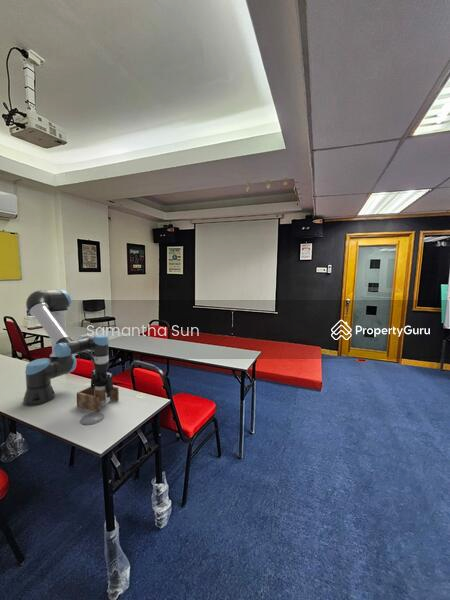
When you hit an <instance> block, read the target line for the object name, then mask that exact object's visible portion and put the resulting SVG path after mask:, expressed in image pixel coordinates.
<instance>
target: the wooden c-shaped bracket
mask: <svg viewBox="0 0 450 600" xmlns="http://www.w3.org/2000/svg"><path fill="white" fill-rule="evenodd" d="M110 393H111V396H110V401H115V402H118V401H119V400H120V398H119V393H120V392H119V387H118V386H115V385H113V390H112V391H111V392H110ZM76 407H78V408H81V409H85V410H88V411H92V412H100V409H101V407H100V403H99V397H96V396H94V389H93V387H91V385H90V386H89V387H86V388H84V389H82V390H80V391H78V392H76ZM100 413H101V412H100Z"/></svg>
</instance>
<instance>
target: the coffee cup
mask: <svg viewBox="0 0 450 600" xmlns="http://www.w3.org/2000/svg"><path fill="white" fill-rule="evenodd" d="M104 379H105V378H104ZM105 383H106V384H108V382H107V380H106V381H102V379H100V380H99V381H96V380H95V381H94V386H95V396H96V397H99V403H100V408H102V407H105V406H107V405H108V403H109V402H108V403H105V392H106V389H105V386H106V384H105Z"/></svg>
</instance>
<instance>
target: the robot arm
mask: <svg viewBox="0 0 450 600" xmlns="http://www.w3.org/2000/svg"><path fill="white" fill-rule="evenodd" d="M71 304H72V298H71V295H70V294H69V293H68V291H66V290H64V289H47V290H46V289H45V290H41V289H40V290H36V291H35V290H34V291H33V292H32V293H31V294H29V295H28V297H27V299H26V306H25V307H26V310H27V311H28V313H29V314H30V315H31V316H33V317H35V319H36V320H37V321H38V323H39V325H40V326H41V327H42V329H43V330H44V331H45V333H46V335H47V336H48V337H49V339H50V340H51V349H52V351H51V353H50V354H49V358H47V357H43V358H38V359H34V360H31V361H29V362H28V363H27V364H26V366H25V372H24V373H25V381H26V383H25V384H26V390H25V393H24V396H23V398H22V402H23V404H24V405H25V406H29V407H30V406H39V405H43V404H46V403H48V402H50V401H53V399H54V398H55V397H56V396H55V395H56V394H55V391H54V388H53V386H52V385H51V384H52V381H51V380H52V379H55V378H58V377H61V376H63V375H68V374H69V373H72V372H74V370H75V369H76V367H77V358H76V356H75V355H76V354H81V353H83V352H84V353H85V352H87V351H91V352H93V362H94V364H93V370H92V371H91V372H90V373H91V378H90V379H91V380H90V386H91V387H93V389H94V396H95V386H94V381H95V380H96V381H99V380H100V379H102V381H106V380H107V382H108V384H106V383H105V384H106V386H105V389H106V392H105V403H109V402H110V401H111V399H110V396H111V393H110V392H111V391H112V390H113V386H114V381H113V373H112V372H111V373H110V372H109V368H110V365H109V363H110V362H109V361H110V359H109V355H110V354H109V336H108V335H106V334H97V335H94V337H93V336H88V335H83V336H81V337H80V338H78V339H73V340H72V338H71V337H70V336H69V335H68V331H67V321H66V313H67V312H68V311H69V310H68V308H69V307H71ZM104 378H105V379H104Z"/></svg>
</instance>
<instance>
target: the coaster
mask: <svg viewBox="0 0 450 600" xmlns="http://www.w3.org/2000/svg"><path fill="white" fill-rule="evenodd" d="M104 418H105V414H104V413H103V412H95V411H93V412H89V413H87V414H85V415H83V416H81V418H80V421H79V422H80V424H81V425H84V426H90V425H95V424H98V423H100V422H101V421H103V420H104Z"/></svg>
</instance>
